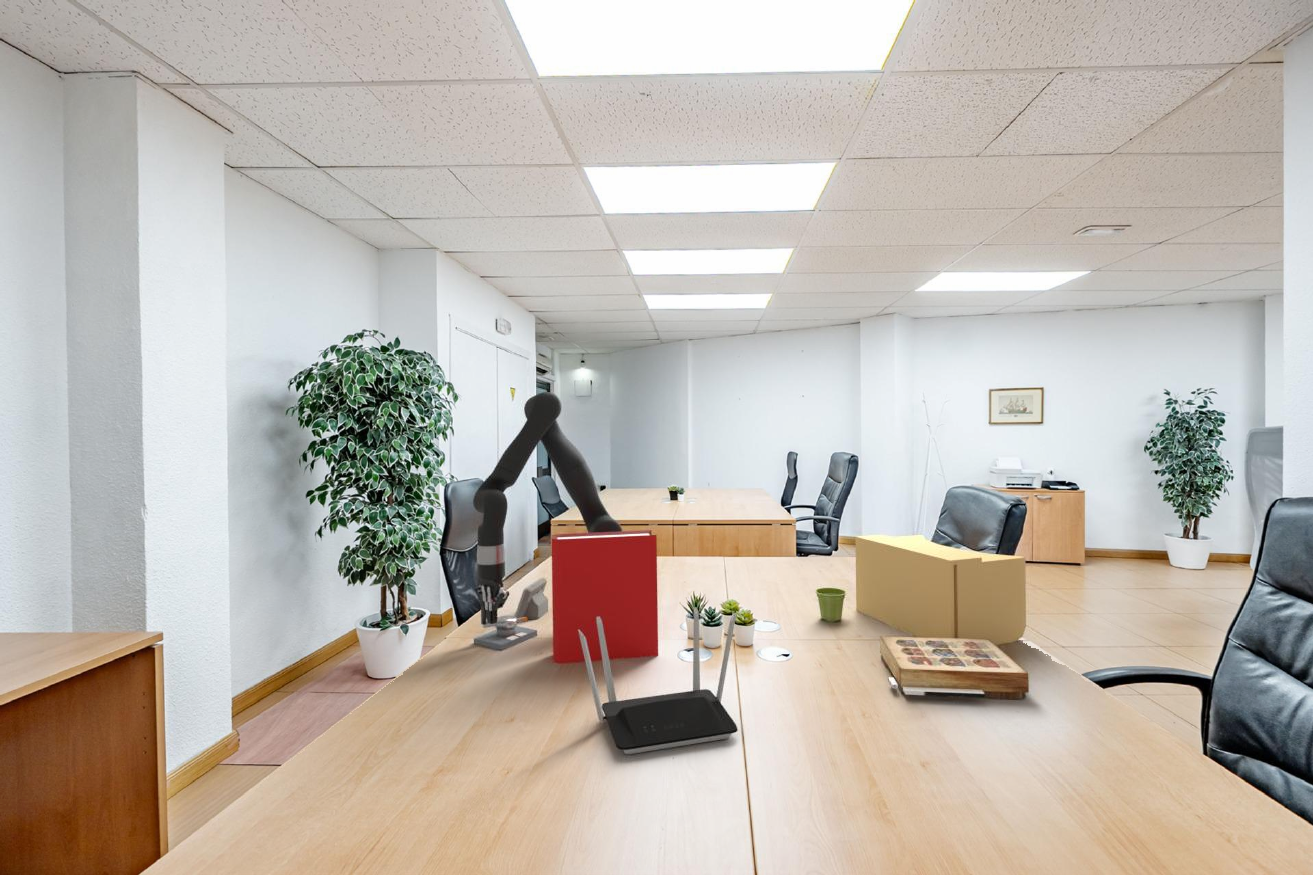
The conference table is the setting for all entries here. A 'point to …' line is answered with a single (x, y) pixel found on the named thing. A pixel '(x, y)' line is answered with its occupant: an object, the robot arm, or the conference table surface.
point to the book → (604, 594)
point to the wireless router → (663, 706)
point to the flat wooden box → (952, 668)
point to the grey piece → (501, 620)
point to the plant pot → (831, 603)
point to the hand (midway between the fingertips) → (492, 622)
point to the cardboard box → (940, 589)
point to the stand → (505, 637)
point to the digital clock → (533, 601)
